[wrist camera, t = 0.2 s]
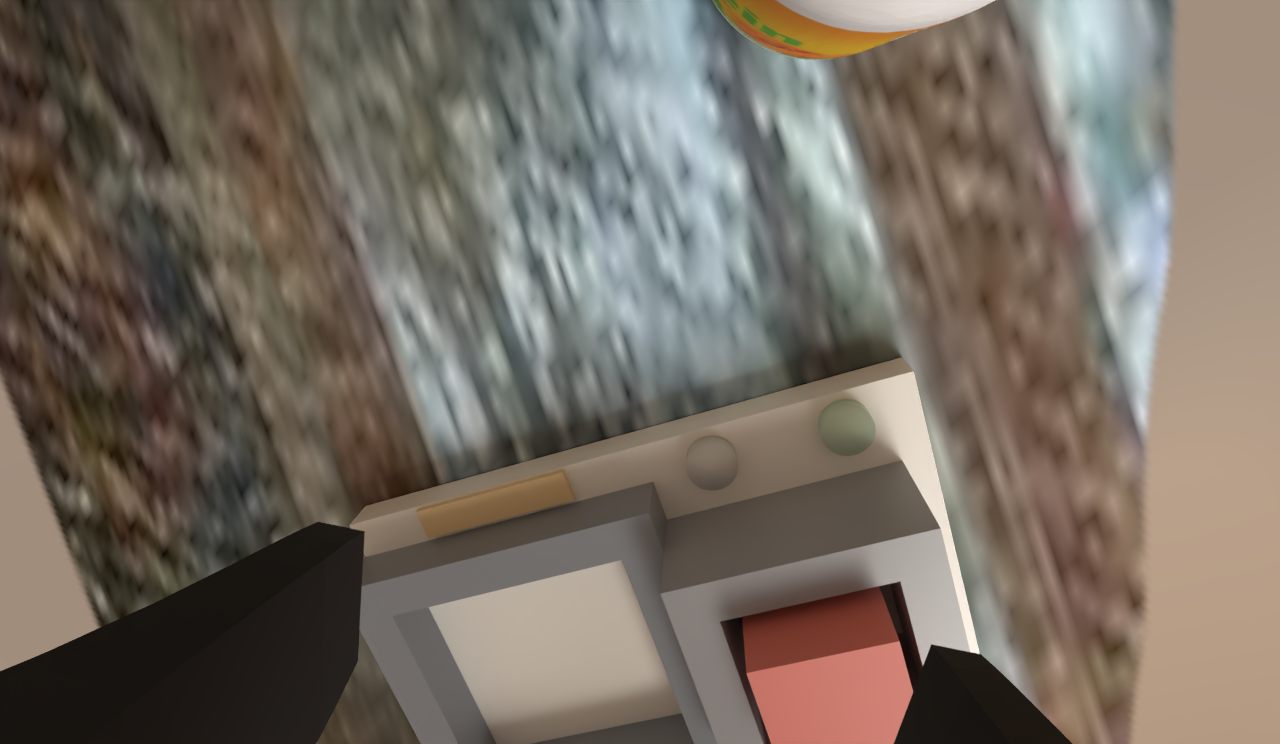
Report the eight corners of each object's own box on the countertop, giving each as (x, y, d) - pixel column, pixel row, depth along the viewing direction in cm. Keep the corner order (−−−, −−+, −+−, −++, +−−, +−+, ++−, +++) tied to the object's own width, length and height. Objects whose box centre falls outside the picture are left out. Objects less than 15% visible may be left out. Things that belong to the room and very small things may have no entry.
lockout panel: (980, 684, 20) (1042, 814, 17) (502, 778, 23) (463, 908, 19) (902, 357, 18) (956, 424, 14) (365, 505, 20) (287, 596, 16)
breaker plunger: (895, 656, 18) (931, 759, 15) (773, 681, 18) (786, 785, 15) (866, 552, 17) (899, 641, 14) (739, 581, 17) (746, 673, 15)
